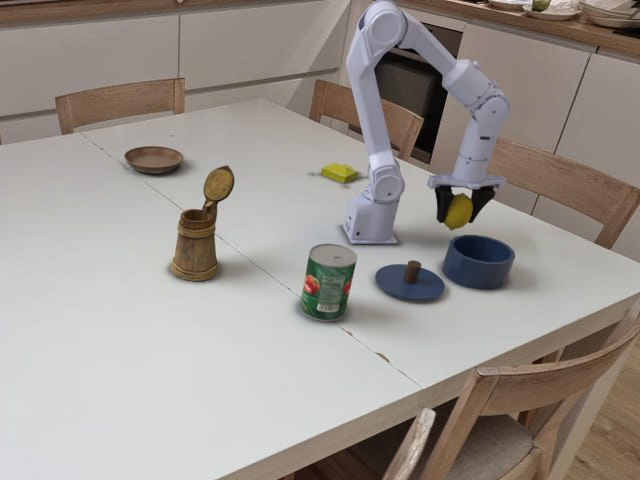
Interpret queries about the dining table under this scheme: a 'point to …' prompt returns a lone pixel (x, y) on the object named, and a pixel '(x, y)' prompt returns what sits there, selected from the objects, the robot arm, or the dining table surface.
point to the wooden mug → (201, 230)
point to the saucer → (153, 159)
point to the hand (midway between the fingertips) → (454, 221)
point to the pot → (478, 262)
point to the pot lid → (410, 281)
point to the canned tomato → (327, 282)
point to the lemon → (459, 212)
